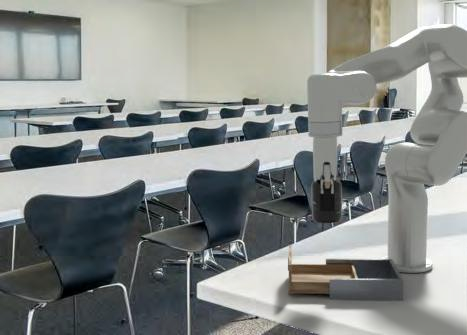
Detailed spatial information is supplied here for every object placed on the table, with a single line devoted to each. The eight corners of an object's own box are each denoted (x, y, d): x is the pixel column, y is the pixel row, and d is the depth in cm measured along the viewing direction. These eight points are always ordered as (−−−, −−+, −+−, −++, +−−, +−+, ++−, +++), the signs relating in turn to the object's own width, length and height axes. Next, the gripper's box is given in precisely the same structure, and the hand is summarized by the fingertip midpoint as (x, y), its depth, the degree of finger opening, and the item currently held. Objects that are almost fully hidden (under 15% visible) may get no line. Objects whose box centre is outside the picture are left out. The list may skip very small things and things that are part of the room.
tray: (288, 272, 144) (288, 245, 143) (352, 273, 142) (352, 245, 141) (288, 294, 129) (287, 264, 128) (359, 296, 127) (360, 265, 126)
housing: (325, 276, 143) (325, 258, 142) (391, 277, 141) (392, 258, 141) (329, 299, 128) (329, 279, 127) (403, 300, 126) (403, 280, 126)
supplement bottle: (305, 220, 134) (304, 169, 132) (323, 214, 138) (322, 164, 137) (330, 225, 129) (329, 171, 127) (348, 218, 134) (347, 167, 132)
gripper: (308, 126, 139) (310, 198, 142) (308, 134, 122) (310, 216, 125) (340, 124, 138) (341, 198, 141) (344, 133, 121) (346, 216, 124)
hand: (326, 206), depth 133 cm, fingers closed on supplement bottle, 6 cm apart
